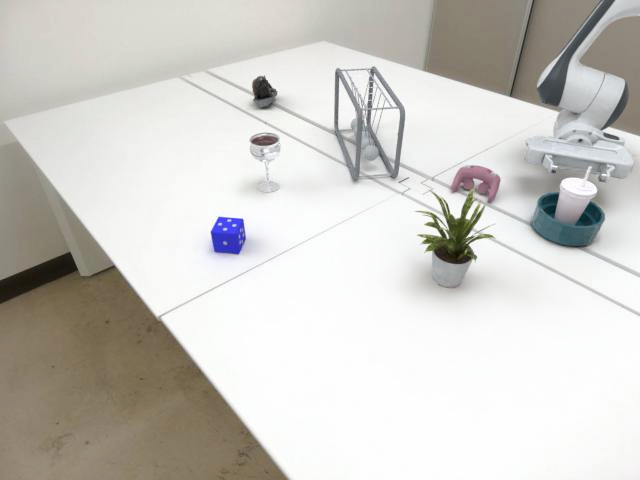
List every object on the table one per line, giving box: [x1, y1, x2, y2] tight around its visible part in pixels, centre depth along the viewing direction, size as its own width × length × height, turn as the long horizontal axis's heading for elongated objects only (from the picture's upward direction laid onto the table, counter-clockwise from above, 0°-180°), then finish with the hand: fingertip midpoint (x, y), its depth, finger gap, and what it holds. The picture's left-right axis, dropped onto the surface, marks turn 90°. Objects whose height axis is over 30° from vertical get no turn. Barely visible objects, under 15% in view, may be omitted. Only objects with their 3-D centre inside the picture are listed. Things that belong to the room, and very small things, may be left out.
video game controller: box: [450, 164, 502, 203], centre depth 102 cm, size 10×5×7 cm, turn 59°
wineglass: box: [248, 131, 282, 193], centre depth 102 cm, size 7×7×12 cm
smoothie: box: [554, 166, 598, 226], centre depth 88 cm, size 6×6×14 cm
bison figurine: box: [251, 75, 278, 108], centre depth 141 cm, size 12×7×10 cm, turn 178°
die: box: [210, 216, 247, 255], centre depth 88 cm, size 5×5×5 cm
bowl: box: [530, 191, 606, 247], centre depth 92 cm, size 12×12×5 cm
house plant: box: [414, 186, 497, 289], centre depth 78 cm, size 14×14×16 cm
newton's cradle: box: [333, 65, 406, 181], centre depth 113 cm, size 30×10×18 cm, turn 8°
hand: (578, 174), depth 91 cm, fingers open, 8 cm apart
